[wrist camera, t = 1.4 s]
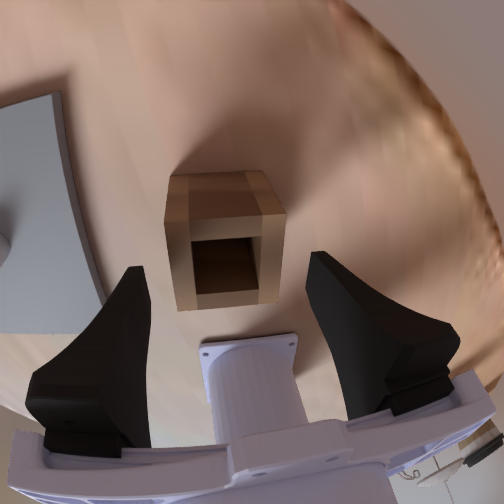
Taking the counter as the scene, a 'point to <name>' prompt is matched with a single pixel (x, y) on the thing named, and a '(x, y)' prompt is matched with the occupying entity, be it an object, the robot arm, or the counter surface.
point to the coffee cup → (480, 443)
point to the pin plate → (42, 226)
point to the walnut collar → (224, 239)
